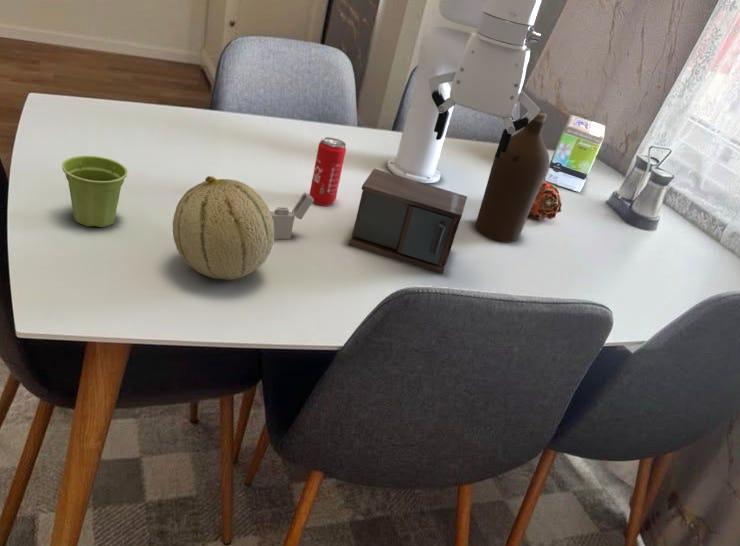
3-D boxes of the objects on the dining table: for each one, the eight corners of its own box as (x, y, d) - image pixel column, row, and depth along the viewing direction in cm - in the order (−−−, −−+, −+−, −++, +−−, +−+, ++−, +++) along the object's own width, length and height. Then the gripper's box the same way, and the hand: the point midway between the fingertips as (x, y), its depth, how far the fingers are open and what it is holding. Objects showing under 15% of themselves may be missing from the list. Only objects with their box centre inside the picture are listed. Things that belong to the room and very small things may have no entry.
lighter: (268, 238, 121) (275, 195, 117) (265, 234, 122) (272, 190, 118) (306, 238, 124) (314, 196, 120) (303, 234, 126) (311, 192, 121)
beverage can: (331, 209, 137) (343, 149, 130) (305, 201, 137) (316, 141, 131) (337, 200, 141) (349, 142, 135) (312, 193, 142) (323, 134, 135)
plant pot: (138, 221, 116) (140, 171, 111) (97, 239, 108) (98, 186, 103) (92, 201, 118) (92, 151, 113) (49, 217, 110) (47, 164, 106)
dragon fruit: (547, 235, 156) (513, 217, 165) (576, 212, 157) (540, 196, 166) (538, 204, 150) (503, 188, 159) (568, 181, 152) (532, 166, 160)
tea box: (581, 193, 180) (604, 137, 172) (543, 181, 182) (565, 124, 173) (584, 177, 193) (606, 124, 184) (548, 165, 194) (569, 112, 186)
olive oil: (525, 248, 143) (572, 127, 129) (475, 237, 142) (517, 114, 128) (516, 226, 152) (559, 110, 138) (469, 216, 150) (507, 98, 137)
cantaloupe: (274, 299, 106) (291, 207, 97) (173, 296, 100) (181, 198, 92) (257, 251, 117) (271, 164, 108) (165, 245, 111) (172, 154, 103)
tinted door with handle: (397, 251, 126) (410, 204, 121) (441, 264, 125) (456, 218, 120) (393, 259, 123) (406, 212, 118) (439, 273, 122) (454, 226, 117)
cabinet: (360, 225, 134) (374, 168, 128) (449, 252, 133) (467, 196, 127) (348, 245, 126) (362, 185, 120) (442, 274, 125) (461, 215, 119)
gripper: (562, 45, 105) (522, 156, 114) (450, 12, 106) (420, 125, 115) (561, 52, 98) (519, 169, 108) (442, 17, 100) (411, 136, 109)
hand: (468, 146), depth 111 cm, fingers open, 9 cm apart
